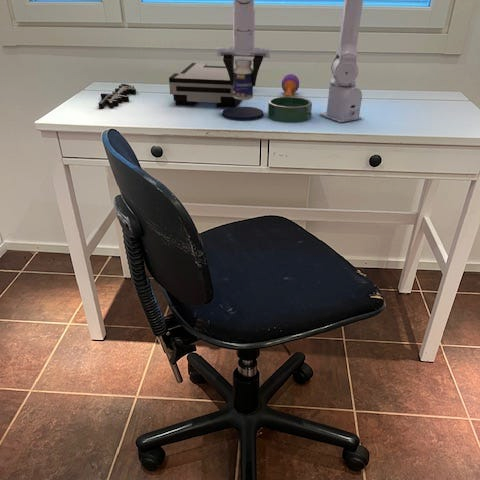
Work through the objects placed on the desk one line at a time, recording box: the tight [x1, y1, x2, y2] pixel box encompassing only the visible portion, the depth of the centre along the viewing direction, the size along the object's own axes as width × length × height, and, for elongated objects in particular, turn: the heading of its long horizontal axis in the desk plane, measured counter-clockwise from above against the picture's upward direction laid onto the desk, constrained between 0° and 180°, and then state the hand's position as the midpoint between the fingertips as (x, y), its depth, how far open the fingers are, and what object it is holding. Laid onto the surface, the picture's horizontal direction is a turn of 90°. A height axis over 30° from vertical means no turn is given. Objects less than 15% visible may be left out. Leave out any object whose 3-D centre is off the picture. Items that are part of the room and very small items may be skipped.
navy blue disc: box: [221, 106, 265, 122], centre depth 143 cm, size 12×12×1 cm
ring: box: [267, 96, 313, 123], centre depth 141 cm, size 12×12×4 cm
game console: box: [168, 62, 241, 109], centre depth 159 cm, size 21×32×8 cm, turn 172°
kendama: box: [281, 73, 300, 97], centre depth 158 cm, size 6×6×20 cm
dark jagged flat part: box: [97, 83, 137, 110], centre depth 158 cm, size 27×2×10 cm
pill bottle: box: [233, 57, 254, 101], centre depth 138 cm, size 6×6×10 cm
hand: (243, 85), depth 139 cm, fingers closed on pill bottle, 5 cm apart
